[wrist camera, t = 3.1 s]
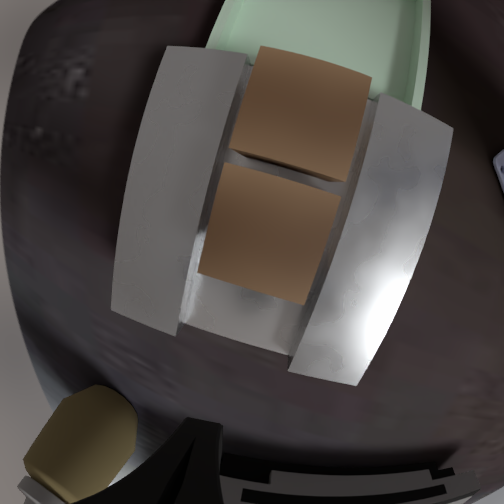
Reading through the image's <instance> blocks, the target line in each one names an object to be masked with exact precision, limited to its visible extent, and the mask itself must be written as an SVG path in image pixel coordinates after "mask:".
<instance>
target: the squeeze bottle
mask: <svg viewBox="0 0 504 504" xmlns="http://www.w3.org/2000/svg"><path fill="white" fill-rule="evenodd" d="M137 425H138V417H137V413H136V412H135V410H134V408H133V406H132V405H131V404H130V403H129V402H128V401H127V400H126V399H125V398H124V397H123V396H121V395H120V394H118V393H117V392H116V391H114V390H112V389H110V388H108V387H106V386H102V385H93V386H91V387H89V388H87V389H84V390H82V391H80V392H78V393H75V394H73V395H71V396H69V397H66V398H64V399H63V400H62V401H61V403H60V404H59V406H58V407H57V409H56V410H55V411H54V413H53V414H52V416H51V417H50V419H49V420H48V422H47V423H46V425H45V426H44V428H43V429H42V431H41V432H40V434H39V435H38V437H37V438H36V440H35V441H34V443H33V444H32V446H31V447H30V449H29V451H28V452H27V454H26V455H25V457H24V459H23V460H24V464H25V468H26V471H27V472H28V473H29V475H30V476H31V478H30V477H29V476H25V477H24V478H23V479H22V481H21V482H20V483H19V485H18V486H17V487H18V489H19V490H20V491H21V492H22V493H23V494H24V495H25V496H26V499H25V502H24V504H71V503H74V502H76V501H79V500H81V499H84V498H86V497H89V496H91V495H94V494H96V493H98V492H100V491H102V490H104V489H106V488H107V487H108V486H109V484H110V483H111V482H112V480H113V479H114V478H115V476H116V475H117V474H118V472H119V471H120V470H121V468H122V467H123V466H124V464H125V463H126V462H127V460H128V459H129V458H130V456H131V455H132V454H133V452H134V451H135V443H136V434H137Z"/></svg>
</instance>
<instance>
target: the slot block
mask: <svg viewBox="0 0 504 504" xmlns="http://www.w3.org/2000/svg"><path fill="white" fill-rule="evenodd" d="M252 69H253V66H252V65H251V62H250V59H249V56H248V54H245V53H239V52H232V51H225V50H216V49H207V48H196V47H181V46H167V48H166V51H165V53H164V56H163V59H162V61H161V64H160V66H159V69H158V72H157V75H156V78H155V80H154V83H153V86H152V89H151V92H150V95H149V99H148V102H147V105H146V108H145V112H144V115H143V118H142V122H141V125H140V129H139V133H138V136H137V140H136V144H135V148H134V152H133V156H132V161H131V165H130V170H129V174H128V179H127V184H126V189H125V194H124V200H123V205H122V211H121V217H120V224H119V231H118V238H117V246H116V254H115V263H114V274H113V286H112V300H111V310H112V311H114V312H117V313H119V314H121V315H124V316H126V317H128V318H131V319H133V320H135V321H138V322H140V323H143V324H145V325H147V326H150V327H152V328H155V329H158V330H160V331H163V332H165V333H168V334H171V335H173V336H176V335H177V334H178V332H179V331H180V330H181V328H182V327H183V325H184V324H185V323H186V324H188V325H191V326H194V327H197V328H200V329H203V330H206V331H209V332H212V333H215V334H218V335H221V336H224V337H227V338H231V339H234V340H237V341H240V342H244V343H247V344H250V345H254V346H257V347H261V348H264V349H268V350H271V351H275V352H279V353H282V354H286V355H288V371H290V372H294V373H298V374H302V375H307V376H311V377H315V378H320V379H325V380H329V381H334V382H339V383H345V384H350V385H357V384H358V382H359V381H360V379H361V377H362V376H363V374H364V372H365V370H366V369H367V367H368V365H369V363H370V362H371V360H372V358H373V356H374V354H375V353H376V351H377V349H378V347H379V345H380V343H381V341H382V340H383V338H384V336H385V334H386V332H387V330H388V328H389V326H390V324H391V322H392V320H393V317H394V315H395V313H396V311H397V309H398V307H399V305H400V302H401V300H402V298H403V296H404V293H405V291H406V289H407V286H408V284H409V282H410V279H411V277H412V274H413V272H414V269H415V267H416V264H417V261H418V259H419V256H420V253H421V251H422V248H423V245H424V242H425V239H426V236H427V233H428V230H429V227H430V224H431V221H432V218H433V215H434V211H435V208H436V204H437V201H438V197H439V194H440V190H441V186H442V182H443V178H444V174H445V169H446V165H447V160H448V156H449V151H450V146H451V140H452V134H453V128H452V127H450V126H448V125H447V124H445V123H443V122H441V121H440V120H438V119H436V118H434V117H432V116H430V115H428V114H426V113H425V112H423V111H421V110H419V109H417V108H415V107H413V106H410V105H408V104H406V103H404V102H402V101H400V100H398V99H395V98H393V97H391V96H389V95H386V94H384V93H381V92H380V93H379V94H378V95H377V96H376V97H375V98H374V99H373V100H372V101H371V100H369V99H367V103H366V107H365V111H364V116H363V120H362V124H361V128H360V132H359V136H358V139H357V143H356V147H355V151H354V154H353V158H352V162H351V165H350V169H349V172H348V176H347V179H346V182H328V181H325V180H322V179H318V178H315V177H312V176H309V175H306V174H303V173H299V172H296V171H293V170H289V169H286V168H283V167H279V166H276V165H272V164H269V163H265V162H261V161H258V160H254V159H250V158H246V157H244V156H242V155H241V154H239V153H237V152H235V151H234V150H232V149H230V148H229V144H230V141H231V137H232V134H233V130H234V127H235V124H236V120H237V117H238V113H239V110H240V107H241V104H242V100H243V97H244V94H245V91H246V88H247V85H248V81H249V78H250V75H251V72H252ZM224 162H226V163H230V164H234V165H238V166H242V167H245V168H249V169H253V170H257V171H260V172H264V173H267V174H271V175H274V176H278V177H281V178H285V179H288V180H291V181H295V182H298V183H301V184H304V185H308V186H311V187H314V188H317V189H320V190H323V191H326V192H329V193H332V194H335V195H338V196H341V200H340V203H339V206H338V209H337V212H336V216H335V219H334V222H333V225H332V228H331V231H330V234H329V237H328V240H327V243H326V246H325V249H324V252H323V255H322V258H321V261H320V263H319V266H318V269H317V272H316V275H315V277H314V280H313V283H312V286H311V288H310V291H309V294H308V296H307V299H306V302H305V304H304V305H301V304H298V303H294V302H291V301H287V300H284V299H281V298H277V297H274V296H270V295H267V294H264V293H260V292H257V291H254V290H250V289H247V288H244V287H241V286H237V285H234V284H231V283H228V282H225V281H221V280H218V279H215V278H212V277H209V276H206V275H203V274H200V273H197V271H198V266H199V262H200V258H201V253H202V249H203V245H204V240H205V236H206V232H207V228H208V224H209V220H210V216H211V212H212V208H213V204H214V200H215V196H216V192H217V188H218V185H219V181H220V177H221V173H222V170H223V166H224Z"/></svg>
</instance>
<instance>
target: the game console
mask: <svg viewBox="0 0 504 504" xmlns="http://www.w3.org/2000/svg"><path fill="white" fill-rule="evenodd" d="M219 474H220V483H221V490H222V496H223V501H224V504H463V503H464V502H466V501H467V500H468V499H469V498H470V497H472V496H473V495H474V494H475V493H476V492H478V491H479V490H480V489H481V486H480V484H479V482H478V479H477V477H476V475H475V472H474V470H472V471H469V472H465V473H461V474H457V475H455V473H454V471H453V468H452V467H451V468H447V469H442V470H438V469H437V466H436V463H435V462H429V463H422V464H413V465H404V466H392V467H373V468H336V467H317V466H304V465H294V464H286V463H278V462H271V461H265V460H259V459H253V458H248V457H242V456H238V455H233V454H228V453H225V455H224V458H223V462H222V464H220V471H219Z"/></svg>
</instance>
